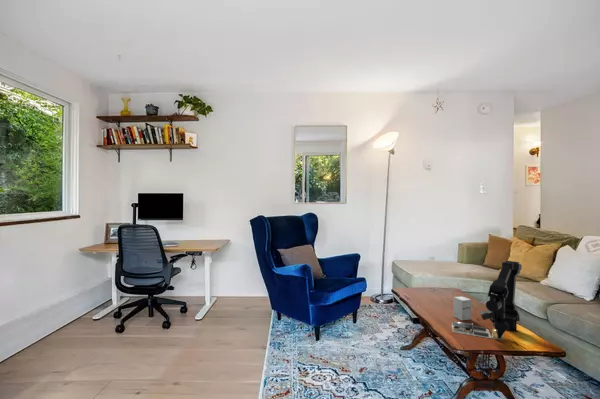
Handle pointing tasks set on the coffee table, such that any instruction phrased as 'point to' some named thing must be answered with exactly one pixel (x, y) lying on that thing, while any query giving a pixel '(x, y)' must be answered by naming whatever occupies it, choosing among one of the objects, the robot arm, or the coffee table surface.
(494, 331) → the valve
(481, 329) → the pipe run
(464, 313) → the supplement box
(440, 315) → the coffee table surface
